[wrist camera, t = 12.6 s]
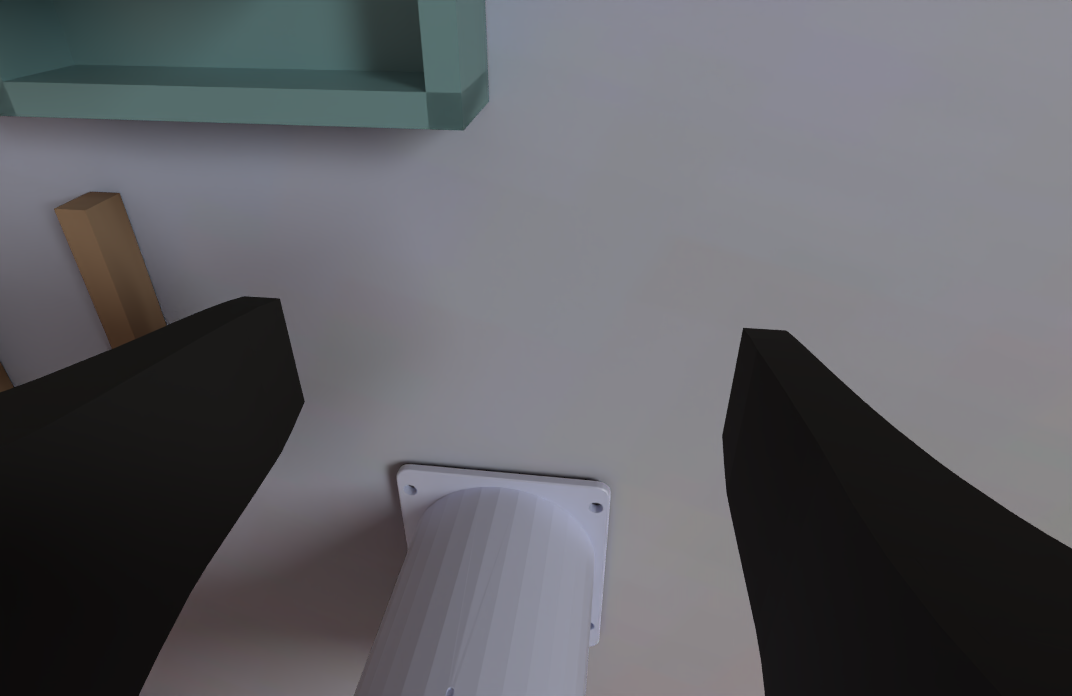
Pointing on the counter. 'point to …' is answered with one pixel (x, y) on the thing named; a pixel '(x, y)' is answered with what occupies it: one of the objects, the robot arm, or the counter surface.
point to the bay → (109, 268)
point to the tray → (247, 61)
